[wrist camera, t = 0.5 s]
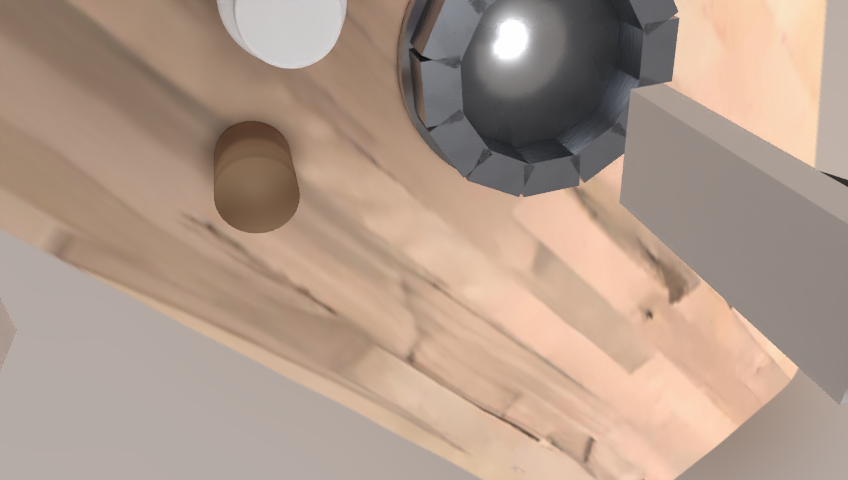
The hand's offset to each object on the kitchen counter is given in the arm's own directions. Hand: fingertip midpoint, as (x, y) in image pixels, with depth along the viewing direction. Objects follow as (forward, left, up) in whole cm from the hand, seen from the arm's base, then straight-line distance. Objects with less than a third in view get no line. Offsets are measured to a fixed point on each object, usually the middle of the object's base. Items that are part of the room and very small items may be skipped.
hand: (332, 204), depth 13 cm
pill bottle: (-1, +1, -23) cm, 23 cm away
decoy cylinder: (+8, -2, -23) cm, 24 cm away
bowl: (+5, +14, -23) cm, 27 cm away
